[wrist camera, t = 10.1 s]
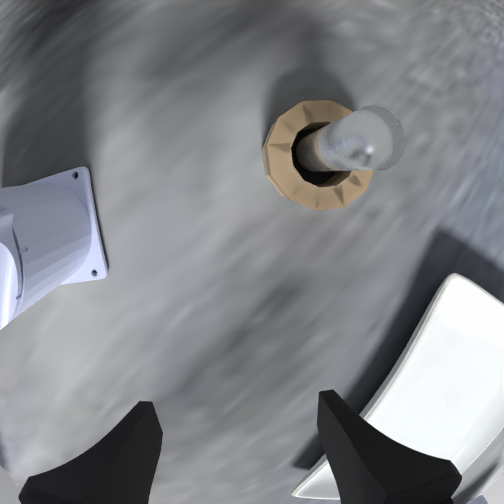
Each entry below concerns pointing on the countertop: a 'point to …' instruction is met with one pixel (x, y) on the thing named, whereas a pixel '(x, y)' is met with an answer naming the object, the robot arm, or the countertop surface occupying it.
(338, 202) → the wooden bead
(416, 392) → the square plate
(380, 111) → the cylindrical metal peg
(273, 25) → the countertop surface
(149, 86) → the countertop surface
